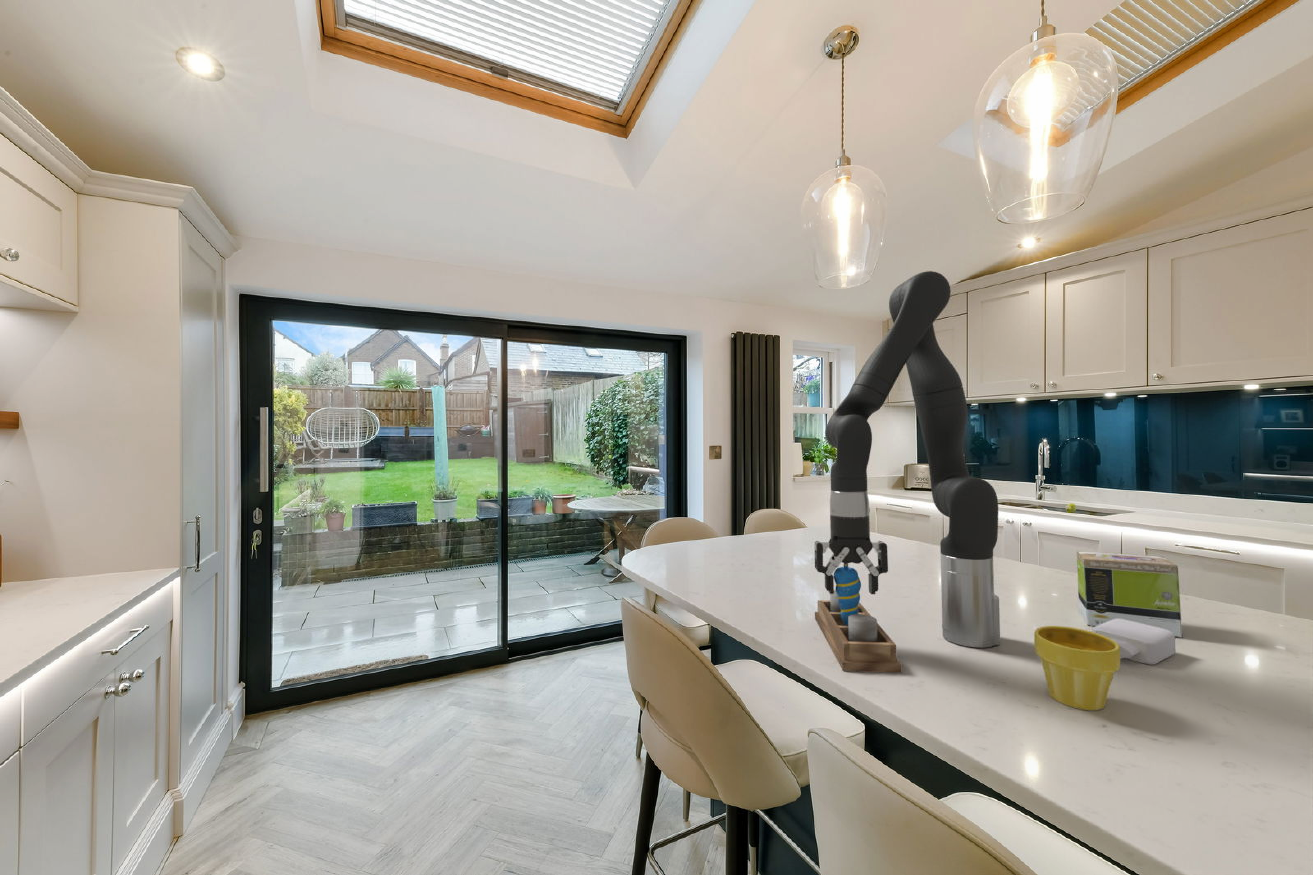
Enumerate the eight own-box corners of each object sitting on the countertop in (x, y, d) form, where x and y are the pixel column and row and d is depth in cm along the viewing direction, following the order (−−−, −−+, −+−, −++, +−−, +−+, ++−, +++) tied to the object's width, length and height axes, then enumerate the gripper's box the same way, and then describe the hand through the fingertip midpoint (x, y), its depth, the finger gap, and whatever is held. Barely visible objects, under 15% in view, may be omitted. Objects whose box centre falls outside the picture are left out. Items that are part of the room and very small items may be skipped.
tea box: (1167, 623, 111) (1165, 555, 111) (1182, 639, 102) (1180, 565, 102) (1077, 612, 119) (1076, 548, 119) (1085, 626, 110) (1083, 557, 110)
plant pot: (1130, 725, 72) (1128, 656, 72) (1039, 706, 78) (1037, 642, 78) (1113, 694, 81) (1111, 632, 81) (1032, 679, 87) (1031, 621, 87)
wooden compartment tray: (859, 619, 117) (859, 586, 117) (901, 672, 90) (900, 630, 90) (814, 618, 118) (814, 585, 118) (842, 670, 91) (841, 628, 91)
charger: (1076, 656, 96) (1113, 640, 103) (1140, 675, 88) (1175, 656, 95) (1075, 630, 96) (1112, 616, 103) (1139, 648, 88) (1175, 631, 95)
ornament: (850, 641, 101) (847, 564, 101) (830, 633, 105) (827, 559, 105) (868, 635, 103) (865, 561, 103) (848, 628, 108) (845, 556, 108)
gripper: (880, 510, 107) (882, 588, 107) (810, 510, 109) (811, 587, 109) (892, 515, 100) (894, 599, 99) (816, 515, 101) (818, 598, 101)
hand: (851, 593), depth 104 cm, fingers open, 7 cm apart
